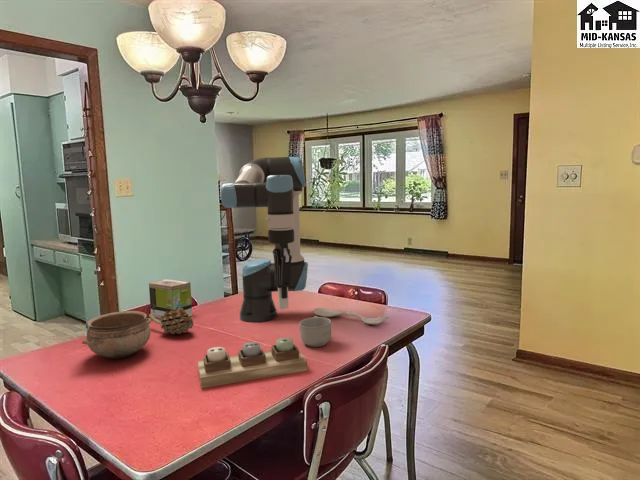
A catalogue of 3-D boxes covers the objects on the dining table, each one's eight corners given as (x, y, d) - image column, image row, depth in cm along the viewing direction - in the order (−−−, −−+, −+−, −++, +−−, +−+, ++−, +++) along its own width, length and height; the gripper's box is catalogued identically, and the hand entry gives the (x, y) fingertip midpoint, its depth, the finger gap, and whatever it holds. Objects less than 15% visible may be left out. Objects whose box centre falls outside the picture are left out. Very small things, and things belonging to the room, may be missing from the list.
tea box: (193, 315, 185) (191, 281, 183) (173, 322, 176) (171, 286, 174) (169, 310, 193) (167, 277, 191) (150, 316, 184) (147, 282, 182)
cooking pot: (106, 375, 127) (103, 335, 126) (65, 364, 136) (62, 326, 134) (171, 346, 150) (168, 311, 148) (132, 338, 158) (129, 305, 156)
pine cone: (201, 332, 164) (200, 306, 162) (184, 340, 155) (182, 313, 154) (156, 325, 172) (154, 301, 171) (137, 333, 163) (135, 307, 162)
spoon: (378, 330, 162) (378, 321, 162) (309, 317, 180) (308, 308, 180) (389, 323, 170) (389, 315, 169) (321, 311, 188) (321, 303, 187)
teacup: (328, 350, 143) (328, 327, 142) (296, 348, 145) (295, 325, 144) (335, 336, 156) (335, 314, 155) (306, 334, 159) (305, 313, 158)
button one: (274, 348, 133) (274, 338, 132) (290, 346, 134) (290, 336, 134) (278, 354, 128) (278, 344, 128) (295, 352, 130) (294, 341, 129)
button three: (241, 353, 130) (241, 343, 129) (258, 350, 131) (258, 340, 131) (244, 359, 125) (244, 349, 124) (261, 356, 126) (261, 346, 126)
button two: (207, 358, 126) (206, 347, 126) (224, 355, 128) (224, 345, 128) (208, 364, 122) (208, 354, 121) (226, 362, 123) (226, 351, 123)
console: (198, 370, 129) (197, 352, 129) (295, 355, 139) (295, 339, 138) (201, 388, 118) (200, 368, 118) (307, 370, 128) (306, 352, 127)
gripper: (263, 227, 131) (266, 304, 134) (273, 231, 119) (276, 315, 122) (287, 226, 134) (290, 301, 137) (299, 230, 122) (302, 312, 125)
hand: (283, 308), depth 129 cm, fingers closed
